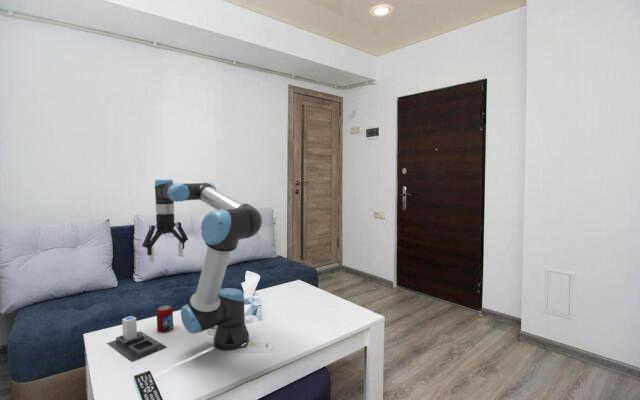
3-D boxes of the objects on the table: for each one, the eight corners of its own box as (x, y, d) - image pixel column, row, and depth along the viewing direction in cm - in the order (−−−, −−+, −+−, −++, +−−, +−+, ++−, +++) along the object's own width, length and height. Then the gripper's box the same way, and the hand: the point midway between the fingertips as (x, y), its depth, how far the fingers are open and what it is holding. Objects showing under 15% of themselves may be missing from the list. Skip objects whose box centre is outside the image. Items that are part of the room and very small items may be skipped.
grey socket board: (167, 350, 139) (167, 342, 138) (132, 366, 127) (131, 357, 127) (140, 334, 153) (140, 326, 153) (106, 346, 142) (106, 338, 142)
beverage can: (167, 336, 151) (166, 311, 150) (154, 335, 152) (153, 309, 151) (176, 330, 157) (175, 305, 156) (163, 328, 159) (162, 304, 158)
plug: (137, 340, 144) (136, 316, 143) (127, 344, 141) (126, 320, 140) (133, 337, 147) (131, 314, 146) (123, 341, 143) (122, 317, 143)
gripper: (186, 210, 163) (187, 252, 164) (132, 215, 143) (134, 263, 145) (194, 211, 158) (196, 255, 160) (140, 216, 138) (142, 266, 140)
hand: (166, 259), depth 152 cm, fingers open, 13 cm apart
